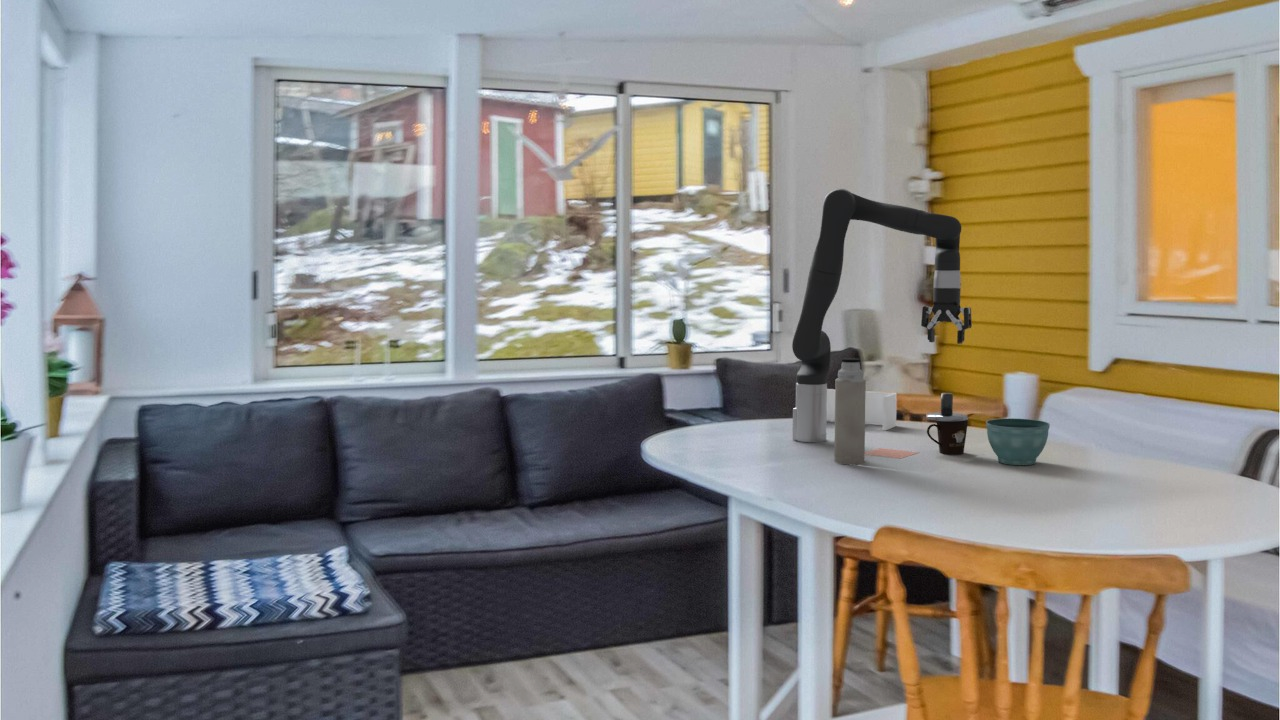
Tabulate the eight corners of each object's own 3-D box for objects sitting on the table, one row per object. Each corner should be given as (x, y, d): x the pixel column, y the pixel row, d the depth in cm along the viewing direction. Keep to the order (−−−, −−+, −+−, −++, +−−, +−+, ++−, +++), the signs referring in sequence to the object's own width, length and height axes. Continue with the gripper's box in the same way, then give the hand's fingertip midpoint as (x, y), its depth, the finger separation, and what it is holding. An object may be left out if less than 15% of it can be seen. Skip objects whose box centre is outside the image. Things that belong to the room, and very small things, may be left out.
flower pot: (1017, 470, 296) (1018, 428, 295) (972, 460, 311) (973, 420, 310) (1062, 465, 304) (1063, 424, 303) (1016, 455, 318) (1017, 416, 317)
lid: (919, 419, 319) (919, 394, 318) (936, 414, 327) (936, 390, 327) (957, 422, 312) (957, 397, 311) (973, 418, 321) (974, 393, 320)
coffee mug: (964, 451, 324) (965, 416, 323) (970, 457, 316) (971, 421, 315) (922, 451, 326) (923, 416, 325) (927, 456, 317) (927, 420, 316)
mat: (860, 455, 319) (860, 453, 319) (880, 449, 329) (880, 448, 329) (900, 459, 312) (900, 458, 312) (919, 453, 321) (919, 452, 321)
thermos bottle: (837, 458, 314) (838, 356, 312) (866, 460, 312) (867, 357, 309) (831, 463, 307) (833, 359, 304) (862, 465, 304) (863, 360, 301)
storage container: (896, 426, 374) (896, 392, 373) (885, 431, 364) (886, 396, 363) (823, 421, 386) (823, 388, 385) (811, 425, 376) (811, 392, 375)
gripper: (918, 286, 331) (917, 342, 333) (965, 287, 322) (964, 344, 324) (929, 285, 337) (928, 341, 338) (976, 286, 328) (974, 343, 329)
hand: (945, 342), depth 331 cm, fingers open, 8 cm apart
